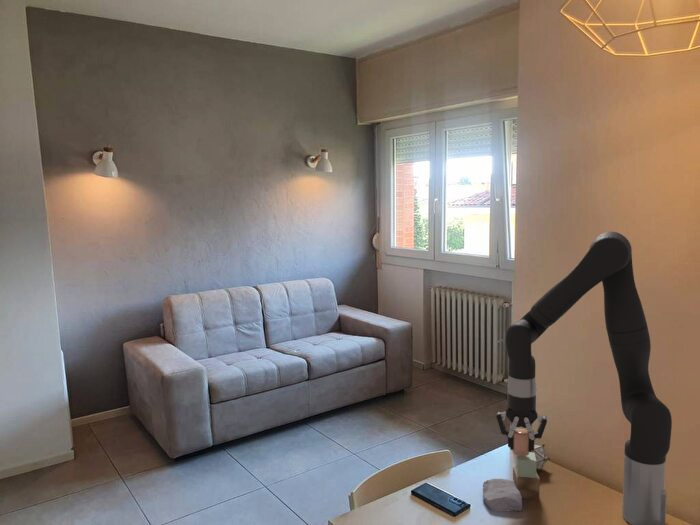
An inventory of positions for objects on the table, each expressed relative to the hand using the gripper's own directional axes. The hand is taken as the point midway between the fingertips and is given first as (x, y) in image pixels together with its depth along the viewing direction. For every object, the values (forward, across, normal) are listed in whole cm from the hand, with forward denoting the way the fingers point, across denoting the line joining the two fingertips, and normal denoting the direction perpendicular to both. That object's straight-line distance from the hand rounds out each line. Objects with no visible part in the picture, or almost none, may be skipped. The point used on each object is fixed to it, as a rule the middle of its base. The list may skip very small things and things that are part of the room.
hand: (521, 449), depth 150 cm
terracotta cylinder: (+1, 0, 0) cm, 1 cm away
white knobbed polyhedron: (+13, +4, +15) cm, 20 cm away
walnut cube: (+13, +1, +1) cm, 13 cm away
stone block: (+13, -5, -5) cm, 15 cm away
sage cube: (+7, +1, +1) cm, 7 cm away
